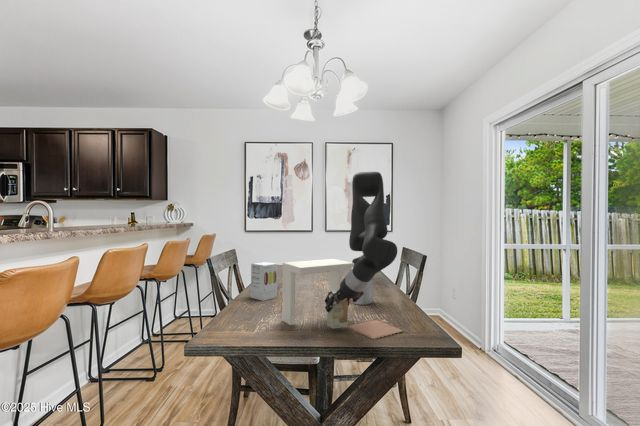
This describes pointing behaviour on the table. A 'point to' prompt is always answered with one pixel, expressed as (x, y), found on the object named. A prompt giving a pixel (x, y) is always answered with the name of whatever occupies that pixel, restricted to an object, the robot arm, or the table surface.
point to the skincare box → (338, 315)
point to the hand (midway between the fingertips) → (335, 308)
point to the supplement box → (264, 281)
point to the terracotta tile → (374, 329)
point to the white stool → (308, 267)
